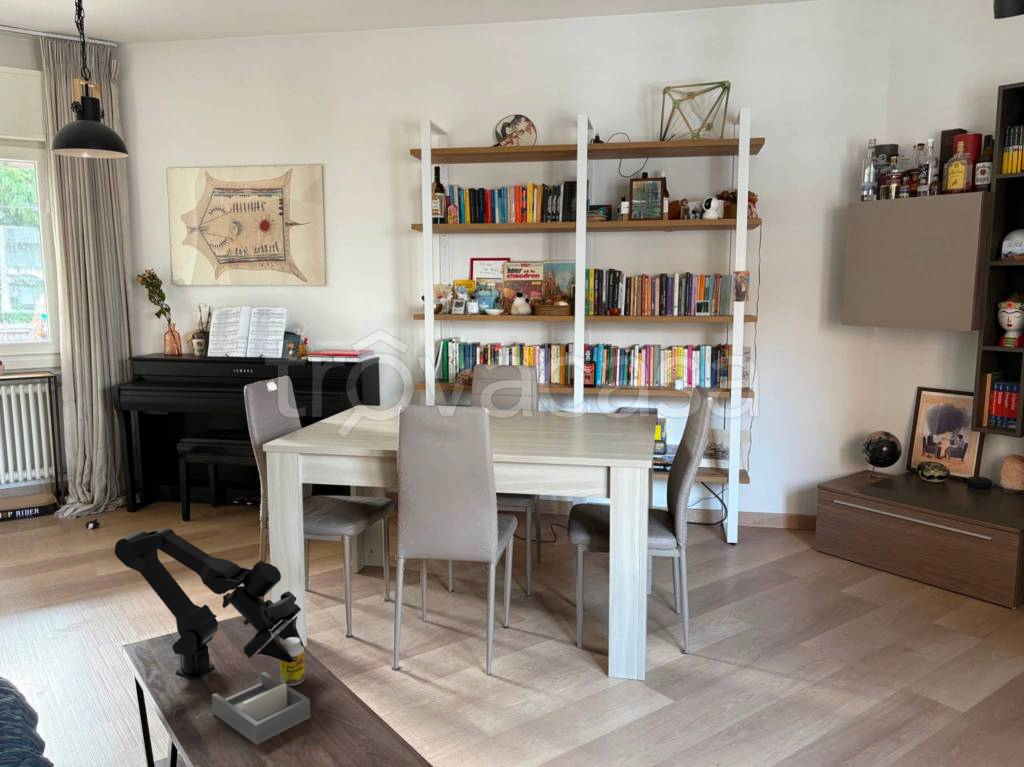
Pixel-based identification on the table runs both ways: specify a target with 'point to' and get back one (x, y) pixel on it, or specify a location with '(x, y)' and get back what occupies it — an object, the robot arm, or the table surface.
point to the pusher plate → (266, 702)
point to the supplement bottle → (293, 663)
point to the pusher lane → (266, 726)
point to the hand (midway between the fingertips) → (297, 655)
